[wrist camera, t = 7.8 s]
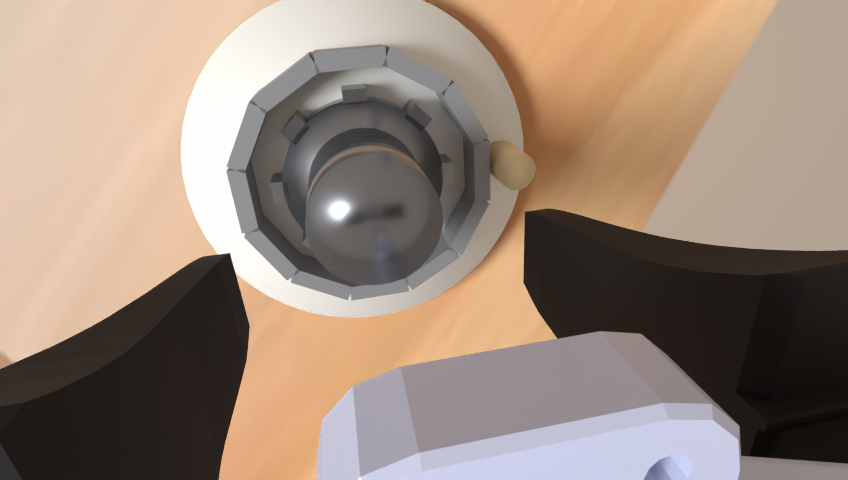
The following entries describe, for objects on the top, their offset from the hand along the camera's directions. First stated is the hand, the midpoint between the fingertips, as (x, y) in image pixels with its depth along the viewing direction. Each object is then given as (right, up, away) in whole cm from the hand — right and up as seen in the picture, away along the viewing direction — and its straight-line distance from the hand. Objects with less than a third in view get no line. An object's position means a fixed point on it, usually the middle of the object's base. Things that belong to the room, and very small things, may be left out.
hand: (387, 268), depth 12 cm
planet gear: (-2, +3, +7) cm, 8 cm away
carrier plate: (-2, +4, +8) cm, 9 cm away
